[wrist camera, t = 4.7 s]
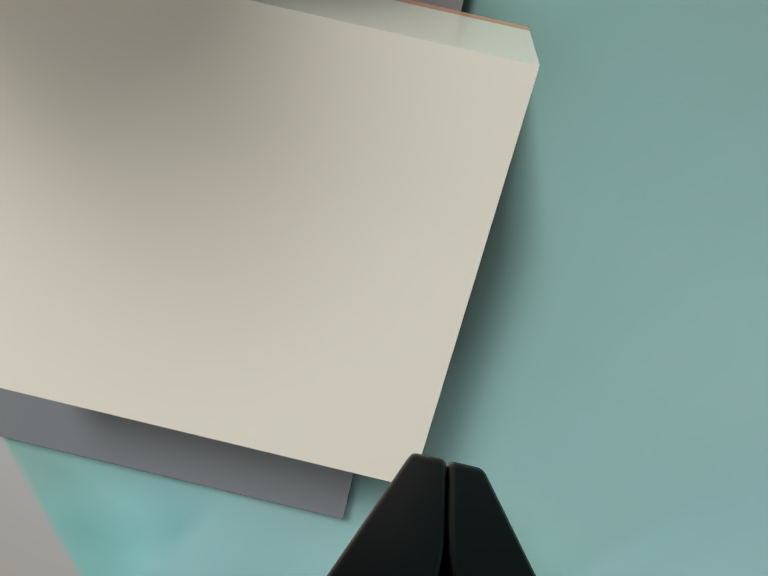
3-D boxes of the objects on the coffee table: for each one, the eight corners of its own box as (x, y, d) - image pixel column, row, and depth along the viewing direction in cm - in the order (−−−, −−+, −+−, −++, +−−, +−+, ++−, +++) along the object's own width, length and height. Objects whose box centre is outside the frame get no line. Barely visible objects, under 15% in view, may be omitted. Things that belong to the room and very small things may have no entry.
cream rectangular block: (539, 66, 9) (-127, -86, 9) (412, 486, 13) (-41, 378, 13) (527, 26, 11) (11, -90, 11) (424, 388, 15) (47, 298, 16)
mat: (552, -382, 9) (555, -395, 9) (346, 504, 18) (342, 518, 18) (-188, -539, 9) (-221, -560, 9) (-21, 415, 19) (-33, 428, 18)
